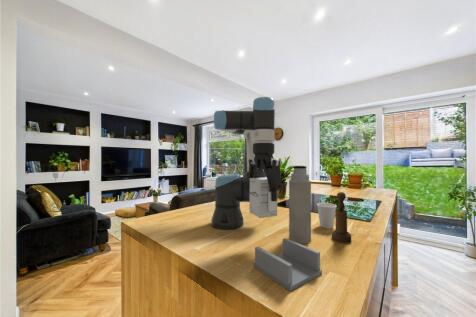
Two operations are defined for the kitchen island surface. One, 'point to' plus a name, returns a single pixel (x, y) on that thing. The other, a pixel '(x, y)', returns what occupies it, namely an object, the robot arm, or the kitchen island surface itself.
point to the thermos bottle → (300, 206)
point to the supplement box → (260, 198)
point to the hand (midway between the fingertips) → (263, 207)
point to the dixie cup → (326, 214)
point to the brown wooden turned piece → (341, 222)
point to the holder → (289, 264)
